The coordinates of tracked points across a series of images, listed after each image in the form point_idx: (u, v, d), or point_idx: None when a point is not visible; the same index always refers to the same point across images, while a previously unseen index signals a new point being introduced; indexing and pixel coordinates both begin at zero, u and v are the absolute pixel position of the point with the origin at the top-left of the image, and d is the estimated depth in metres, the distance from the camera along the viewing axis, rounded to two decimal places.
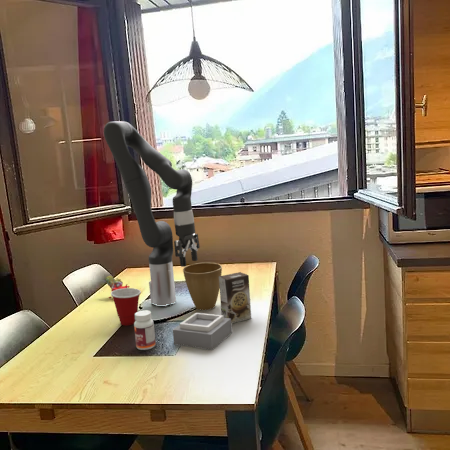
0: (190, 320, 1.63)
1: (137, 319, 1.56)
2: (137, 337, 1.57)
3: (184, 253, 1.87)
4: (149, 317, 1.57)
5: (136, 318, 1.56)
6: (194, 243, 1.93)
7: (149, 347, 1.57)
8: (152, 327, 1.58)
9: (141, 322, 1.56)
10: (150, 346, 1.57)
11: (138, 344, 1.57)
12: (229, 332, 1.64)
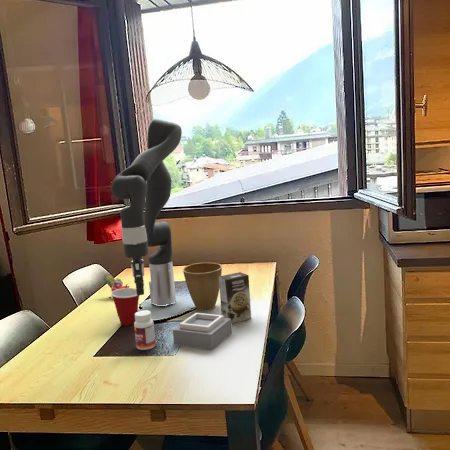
0: (190, 320, 1.63)
1: (137, 319, 1.56)
2: (137, 337, 1.57)
3: None
4: (149, 317, 1.57)
5: (136, 318, 1.56)
6: None
7: (149, 347, 1.57)
8: (152, 327, 1.58)
9: (141, 322, 1.56)
10: (150, 346, 1.57)
11: (138, 344, 1.57)
12: (229, 332, 1.64)
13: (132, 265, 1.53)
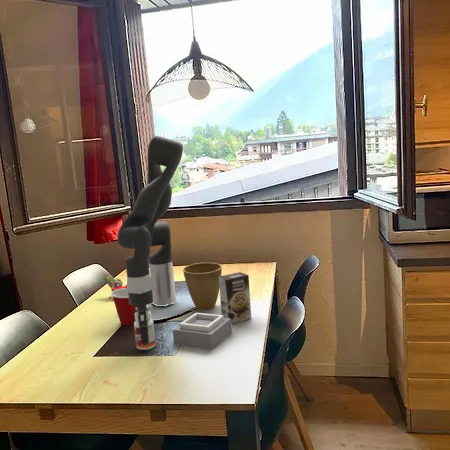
0: (190, 320, 1.63)
1: None
2: (137, 337, 1.57)
3: (147, 327, 1.55)
4: (149, 317, 1.57)
5: (136, 318, 1.56)
6: None
7: (149, 347, 1.57)
8: (152, 327, 1.58)
9: None
10: (150, 346, 1.57)
11: (138, 344, 1.57)
12: (229, 332, 1.64)
13: (137, 313, 1.55)
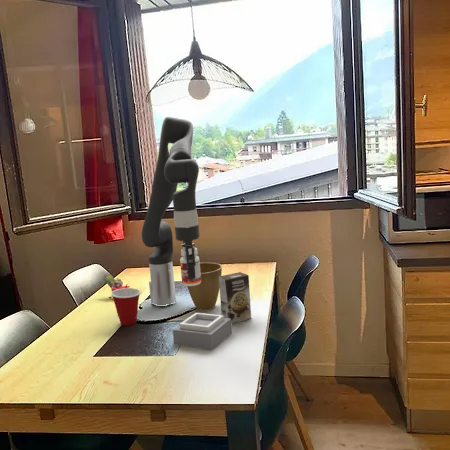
0: (190, 320, 1.63)
1: None
2: (183, 273, 1.56)
3: None
4: (195, 253, 1.56)
5: (182, 254, 1.55)
6: None
7: (195, 283, 1.56)
8: (198, 263, 1.57)
9: None
10: (196, 282, 1.56)
11: (184, 280, 1.56)
12: (229, 332, 1.64)
13: (184, 249, 1.55)
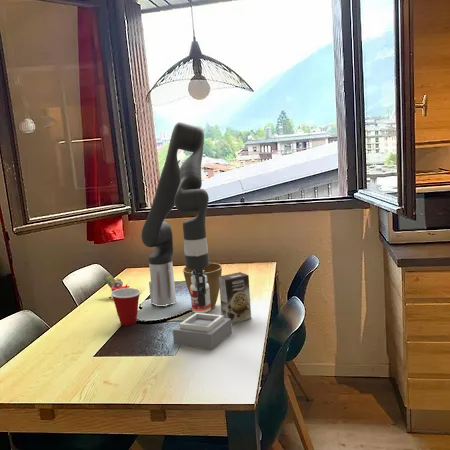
0: (190, 320, 1.63)
1: None
2: (194, 300, 1.58)
3: None
4: (205, 280, 1.58)
5: (193, 281, 1.58)
6: None
7: (205, 310, 1.58)
8: (208, 290, 1.59)
9: None
10: (206, 309, 1.58)
11: (194, 307, 1.58)
12: (229, 332, 1.64)
13: (194, 276, 1.57)
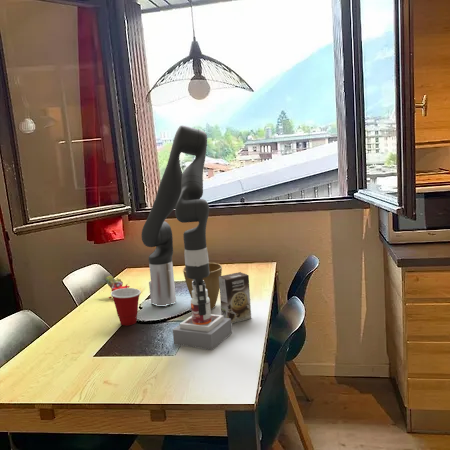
0: (190, 320, 1.63)
1: (194, 296, 1.58)
2: (194, 314, 1.59)
3: None
4: (206, 294, 1.59)
5: (193, 295, 1.58)
6: None
7: (206, 324, 1.59)
8: (209, 304, 1.60)
9: None
10: (207, 322, 1.59)
11: (195, 321, 1.59)
12: (229, 332, 1.64)
13: (194, 286, 1.57)
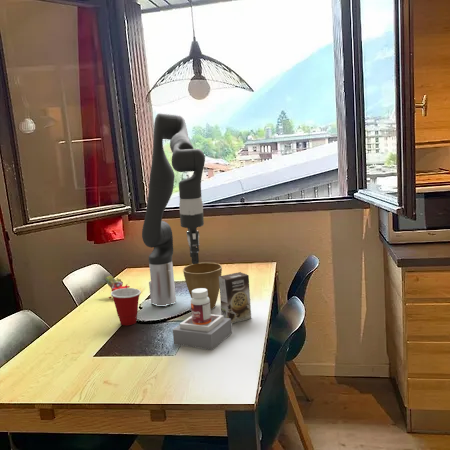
0: (190, 320, 1.63)
1: (194, 296, 1.58)
2: (194, 314, 1.59)
3: None
4: (206, 294, 1.59)
5: (193, 295, 1.58)
6: None
7: (206, 324, 1.59)
8: (209, 304, 1.60)
9: (198, 299, 1.58)
10: (207, 322, 1.59)
11: (195, 321, 1.59)
12: (229, 332, 1.64)
13: (188, 235, 1.60)
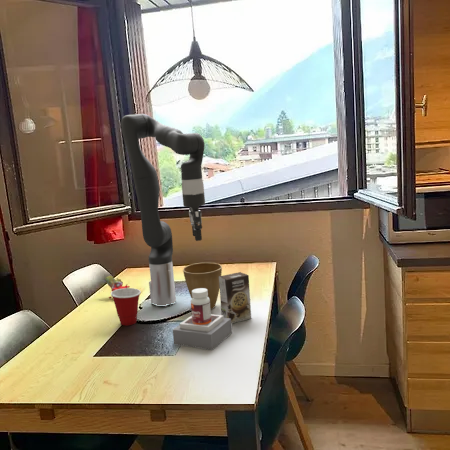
0: (190, 320, 1.63)
1: (195, 296, 1.58)
2: (194, 314, 1.59)
3: None
4: (206, 294, 1.59)
5: (193, 295, 1.58)
6: None
7: (206, 324, 1.59)
8: (209, 304, 1.60)
9: (198, 299, 1.58)
10: (207, 322, 1.59)
11: (195, 321, 1.59)
12: (229, 332, 1.64)
13: (191, 214, 1.70)
